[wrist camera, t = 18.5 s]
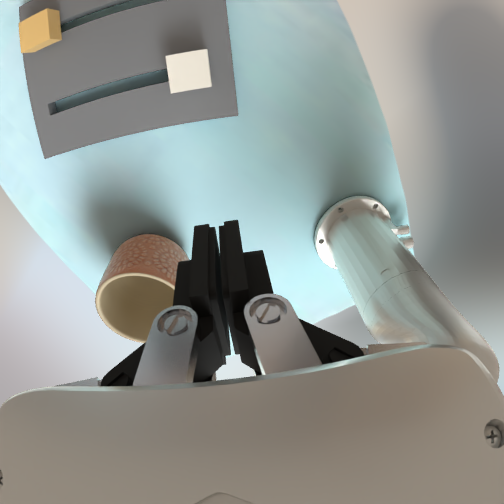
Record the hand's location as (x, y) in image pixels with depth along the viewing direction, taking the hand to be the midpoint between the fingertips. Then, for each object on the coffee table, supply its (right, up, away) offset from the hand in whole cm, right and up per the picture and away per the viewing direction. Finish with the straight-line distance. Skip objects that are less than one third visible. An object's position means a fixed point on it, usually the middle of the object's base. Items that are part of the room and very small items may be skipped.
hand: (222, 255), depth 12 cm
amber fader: (-22, +27, +12) cm, 37 cm away
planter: (-13, -1, +32) cm, 35 cm away
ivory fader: (-6, +21, +18) cm, 28 cm away
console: (-14, +24, +15) cm, 31 cm away
